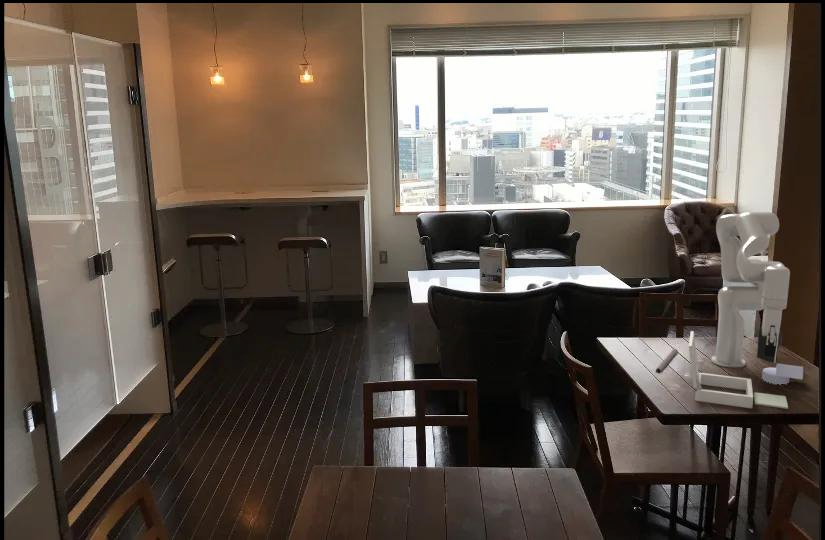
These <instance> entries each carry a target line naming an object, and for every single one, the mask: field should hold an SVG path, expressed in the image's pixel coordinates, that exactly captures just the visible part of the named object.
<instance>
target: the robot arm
mask: <svg viewBox="0 0 825 540" xmlns="http://www.w3.org/2000/svg"><path fill="white" fill-rule="evenodd" d="M779 221H780V220H779V218H778V216H777V215H776V214H775V213H773V212H770V211H769V212H768V211H762V212H761V211H759V212H758V211H757V212H756V211H755V212H754V211H751V212H743V213H729V214H724V215H721V216H719V217H718V218H717V220H716V224H715V226H716V227H715V232H716V236H717V240H718V242H719V246H720V262H721V264H720V265H721V269H720V270H721V277H722V280H723V281H724V282H727V283H734V284H735V283H736V284H737V283H738V284H750V285H751V286H747V285H746V286H743V285H742V286H741V285H736V286H735V285H732V286H724V287H722V288H720V289H719V290H718V294H717V301H718V321H717V322H718V323H717V335H716V348H715V355H712V356H711V359H710V361H711V362H712V363H713V364H714V365H716V366H719V367H724V368H732V369H733V368H735V369H736V368H742V367H744V366H746V363H747V362H746V360H745V359H744V358H743V348H744V338H745V325H746V324H745V323H746V322H745V319H744V317H743V316H742V314H741V313H740V312H742V311H743V312H744V311H756V312H757V311H758V312H759V311H762V310H763V314H762V316H763V317H762V324H761V328H762V335H763V336H767V341H766V344H765V352H764V355H765V356H770V357H775V352H776V338H777V337H778V336H779V331H781V330H780V328H781V324H782V316H783V315H782V314H783V310H786V309H787V305H788V297H789V287H790V277H791V276H790V275H791V271H790V269H789V268H788V267H786V266H785V264H783V263H782V262H780V261H772V260H771V261H766V260H763V261H762V260H761V259H758V258H750V257H753V256H755V255H758V254H761V253H763V252H764V251H766V250H767V249H768V247H769V246H770V239H769V236H773V235H775V234H776V233H778V231H779V229H780V222H779ZM738 236H739V237H738ZM768 334H770V336H768ZM774 334H775V336H774ZM776 334H777V335H776ZM769 338H770V339H769ZM768 339H769V340H768Z"/></svg>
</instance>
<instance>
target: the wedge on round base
mask: <svg viewBox="0 0 825 540" xmlns="http://www.w3.org/2000/svg"><path fill="white" fill-rule="evenodd" d="M790 378H791V379H796V380H803V378H804V366H800V365H791V364H785V363H778V362H776V366H775V367H765V368H762V371H761V380H762V379H763V380H764V381H763V380H762V381H763V382H765V381H766V383H768V382H769V383H768V384H771V383H772V384H771V385H777V384H779V385H780V386H782V385H781V384H785V385H788V384H789V383H790ZM787 383H788V384H787Z"/></svg>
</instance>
